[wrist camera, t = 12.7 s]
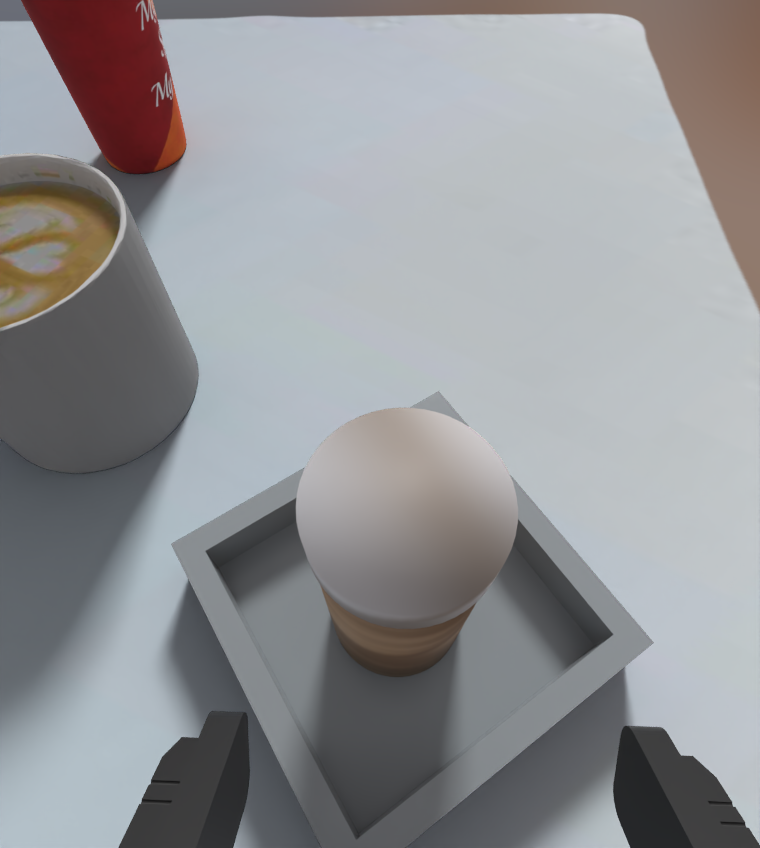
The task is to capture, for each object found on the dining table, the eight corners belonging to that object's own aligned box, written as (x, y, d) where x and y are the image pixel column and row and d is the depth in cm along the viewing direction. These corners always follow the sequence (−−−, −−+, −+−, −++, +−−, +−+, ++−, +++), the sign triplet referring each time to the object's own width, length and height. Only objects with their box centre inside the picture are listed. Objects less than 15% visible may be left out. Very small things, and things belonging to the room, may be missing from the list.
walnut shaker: (377, 710, 22) (374, 665, 12) (305, 589, 24) (256, 473, 15) (490, 627, 23) (565, 531, 14) (412, 520, 26) (430, 375, 16)
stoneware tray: (350, 880, 20) (345, 897, 17) (192, 566, 25) (171, 544, 23) (624, 656, 23) (653, 642, 21) (433, 424, 29) (438, 391, 26)
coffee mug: (238, 377, 30) (181, 224, 22) (77, 514, 27) (-68, 393, 18) (85, 259, 35) (-12, 93, 26) (-71, 362, 31) (-246, 206, 22)
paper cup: (222, 154, 40) (154, -111, 28) (119, 200, 38) (-6, -68, 25) (169, 102, 43) (86, -156, 31) (70, 141, 41) (-61, -122, 29)
